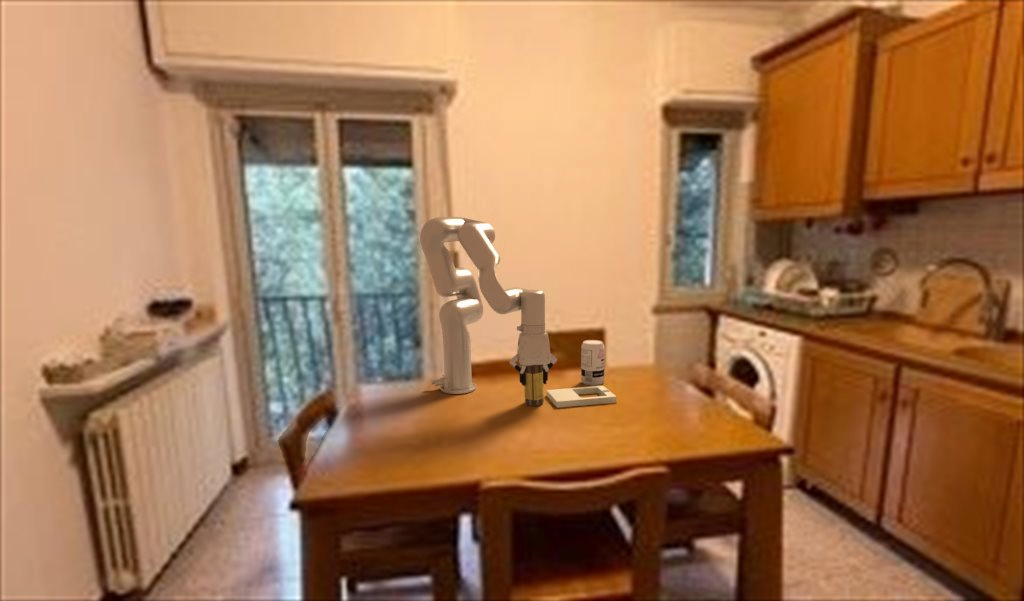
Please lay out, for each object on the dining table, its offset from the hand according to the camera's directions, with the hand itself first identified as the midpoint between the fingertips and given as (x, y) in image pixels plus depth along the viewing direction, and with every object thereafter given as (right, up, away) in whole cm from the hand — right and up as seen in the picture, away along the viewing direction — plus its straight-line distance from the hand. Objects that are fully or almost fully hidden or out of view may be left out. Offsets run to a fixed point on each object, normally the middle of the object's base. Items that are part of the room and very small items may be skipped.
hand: (533, 383), depth 181 cm
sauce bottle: (0, -7, +1) cm, 7 cm away
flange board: (+16, -6, +4) cm, 17 cm away
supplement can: (+22, -3, +22) cm, 31 cm away
